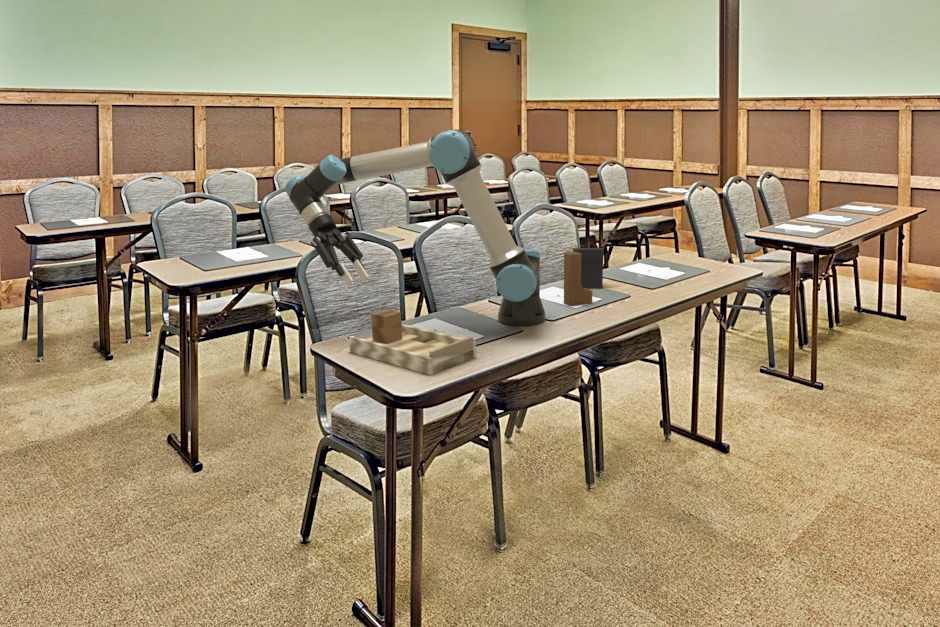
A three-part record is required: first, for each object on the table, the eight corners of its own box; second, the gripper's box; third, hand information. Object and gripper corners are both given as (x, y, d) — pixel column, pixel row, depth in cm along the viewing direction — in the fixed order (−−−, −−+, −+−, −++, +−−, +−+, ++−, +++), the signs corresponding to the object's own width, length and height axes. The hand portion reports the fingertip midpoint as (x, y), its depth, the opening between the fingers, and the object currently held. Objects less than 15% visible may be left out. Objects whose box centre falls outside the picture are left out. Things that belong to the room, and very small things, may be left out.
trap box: (349, 351, 218) (348, 331, 217) (396, 336, 232) (395, 317, 230) (430, 375, 198) (429, 353, 196) (476, 357, 211) (476, 336, 209)
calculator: (601, 286, 288) (602, 247, 284) (602, 289, 284) (603, 249, 280) (572, 286, 289) (572, 247, 285) (573, 289, 285) (573, 249, 281)
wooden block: (586, 300, 269) (587, 249, 264) (592, 303, 264) (593, 252, 260) (563, 303, 266) (563, 252, 261) (569, 306, 262) (569, 254, 257)
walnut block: (372, 340, 220) (371, 313, 218) (388, 335, 225) (386, 309, 222) (386, 344, 216) (385, 316, 214) (402, 339, 221) (400, 312, 219)
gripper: (338, 225, 239) (376, 283, 233) (289, 233, 226) (328, 295, 219) (347, 209, 234) (387, 268, 228) (298, 216, 221) (339, 279, 215)
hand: (358, 281), depth 224 cm, fingers open, 5 cm apart
